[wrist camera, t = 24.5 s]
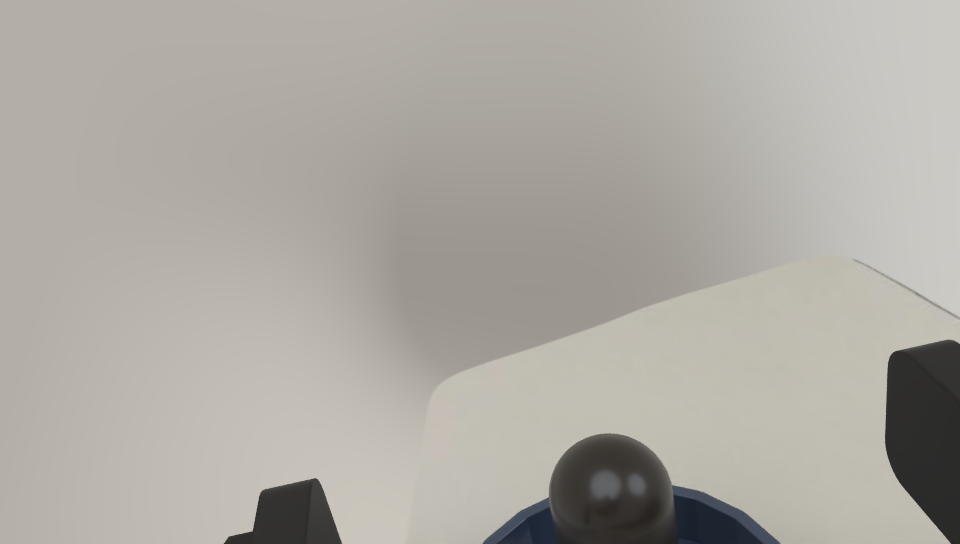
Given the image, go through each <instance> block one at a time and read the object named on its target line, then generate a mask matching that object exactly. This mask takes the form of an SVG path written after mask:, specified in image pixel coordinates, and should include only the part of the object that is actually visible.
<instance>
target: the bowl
mask: <svg viewBox="0 0 960 544" xmlns="http://www.w3.org/2000/svg"><path fill="white" fill-rule="evenodd" d="M672 489H673V496H674V505H675V514H676V523H677V533H678V542H679V544H780V542H778V541H777V540H776V539H775V538H774V537H773V536H772V535H770V534H769V533H768V532H767V531H766V530H765V529H763V528H762V527H761V526H760V525H759V524H758V523H757V522H755V521H754V520H753V519H752V518H751V517H750V516H748V515H747V514H746V513H744V512H743V511H741V510H739V509H737V508H735V507H733V506H731V505H729V504H727V503H725V502H723V501H720V500H718V499H716V498H714V497H712V496H710V495H708V494H706V493H704V492H700V491H697V490H692V489H688V488H683V487H678V486H674V485H672ZM483 544H557V541H556V536H555V531H554V525H553V520H552V515H551V510H550V504H549V498H547V499H544V500H542V501H540V502H538V503H536V504H534V505H532V506H530V507H528V508H526V509H523V510H521V511H520V512H518V513H517V514H516V515H515V516H514V517H512V518H511V519H510V520H509V521H508V522H506V523H505V524H504V525H503V526H502V527H500V528H499V529H498V530H497V531H495V532H494V533H493V534H492V535H491V536H489V537H488V538H487V539H486V540H485V541H484V542H483Z"/></svg>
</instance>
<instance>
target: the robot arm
mask: <svg viewBox="0 0 960 544" xmlns="http://www.w3.org/2000/svg"><path fill="white" fill-rule="evenodd" d="M885 444H886V451H887V455H888V459H889V462H890V465H891V467H892V469H893V472H894V474H895V475H896V477H897V479H898V481H899V482H900V484H901V485H902V486H903V487H904V489H905V490H906V491H907V492H908V493H909V495H910V496H911V497H912V498H913V499H914V500H915V502H916V503H917V504H918V505H919V506H920V507H921V509H922V510H923V511H924V512H925V513H926V515H927V516H928V517H929V518H930V519H931V520H932V522H933V523H934V524H935V525H936V526H937V527H938V529H939V530H940V531H941V532H942V533H943V535H944V536H945V537H946V538H947V539H948V540H949V542H950V543H951V544H960V344H959V343H957V342H955V341H953V340H944V341H939V342H935V343H930V344H926V345H921V346H917V347H912V348H908V349H903V350H899V351H895V352H893V353H892V355H891V356H890V358H889V362H888V374H887V401H886V429H885ZM224 544H342V542H341V540H340V537H339V534H338V531H337V528H336V525H335V522H334V520H333V517H332V514H331V511H330V508H329V505H328V502H327V500H326V496H325V494H324V491H323V488H322V486H321V484H320V482H319V481H318V479H316V478H314V479H310V480H305V481H301V482H297V483H292V484H287V485H283V486H279V487H274V488H269V489H265V490H263V491H262V492H261V494H260V496H259V501H258V507H257V512H256V517H255V522H254V528H253V531H252V532H248V533H243V534H239V535H234V536H230V537H228V539H227V540H226V542H225V543H224Z"/></svg>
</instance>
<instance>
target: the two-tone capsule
mask: <svg viewBox="0 0 960 544" xmlns="http://www.w3.org/2000/svg"><path fill="white" fill-rule="evenodd" d="M549 504H550V510H551V515H552V520H553V525H554V531H555V536H556V541H557V544H679V542H678V533H677V523H676V514H675V505H674V496H673V489H672V484H671V480H670V478H669V475H668V472H667V470H666V468H665V467H664V465H663V463H662V462H661V460H660V459H659V458H658V457H657V456H656V454H655V453H654V452H653V451H652V450H650V449H649V448H648V447H647V446H645V445H644V444H642V443H641V442H639V441H637V440H635V439H633V438H630V437H628V436H624V435H619V434H598V435H594V436H590V437H587V438H585V439H583V440H581V441H579V442H577V443H576V444H574V445H573V446H572V447H570V448H569V449H568V450H567V451H566V452H565V453H564V454H563V456H562V457H561V458H560V460H559V461H558V463H557V464H556V466H555V469H554V471H553V473H552V477H551V481H550V485H549Z"/></svg>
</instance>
